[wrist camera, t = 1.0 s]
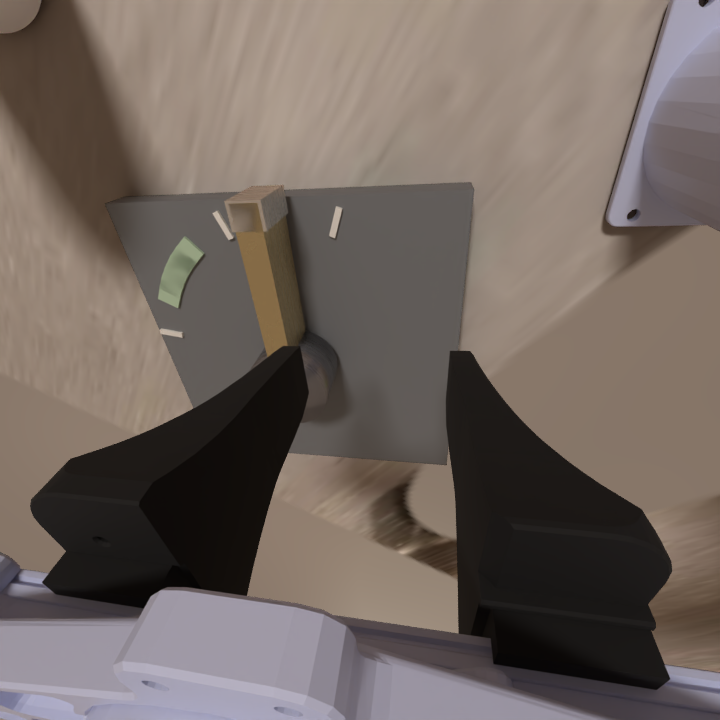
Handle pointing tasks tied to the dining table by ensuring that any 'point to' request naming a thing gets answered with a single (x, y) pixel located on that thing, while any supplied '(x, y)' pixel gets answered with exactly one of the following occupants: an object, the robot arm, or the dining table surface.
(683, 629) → the dining table surface
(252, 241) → the brown bar with cylinder
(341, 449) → the dial board
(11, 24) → the can
